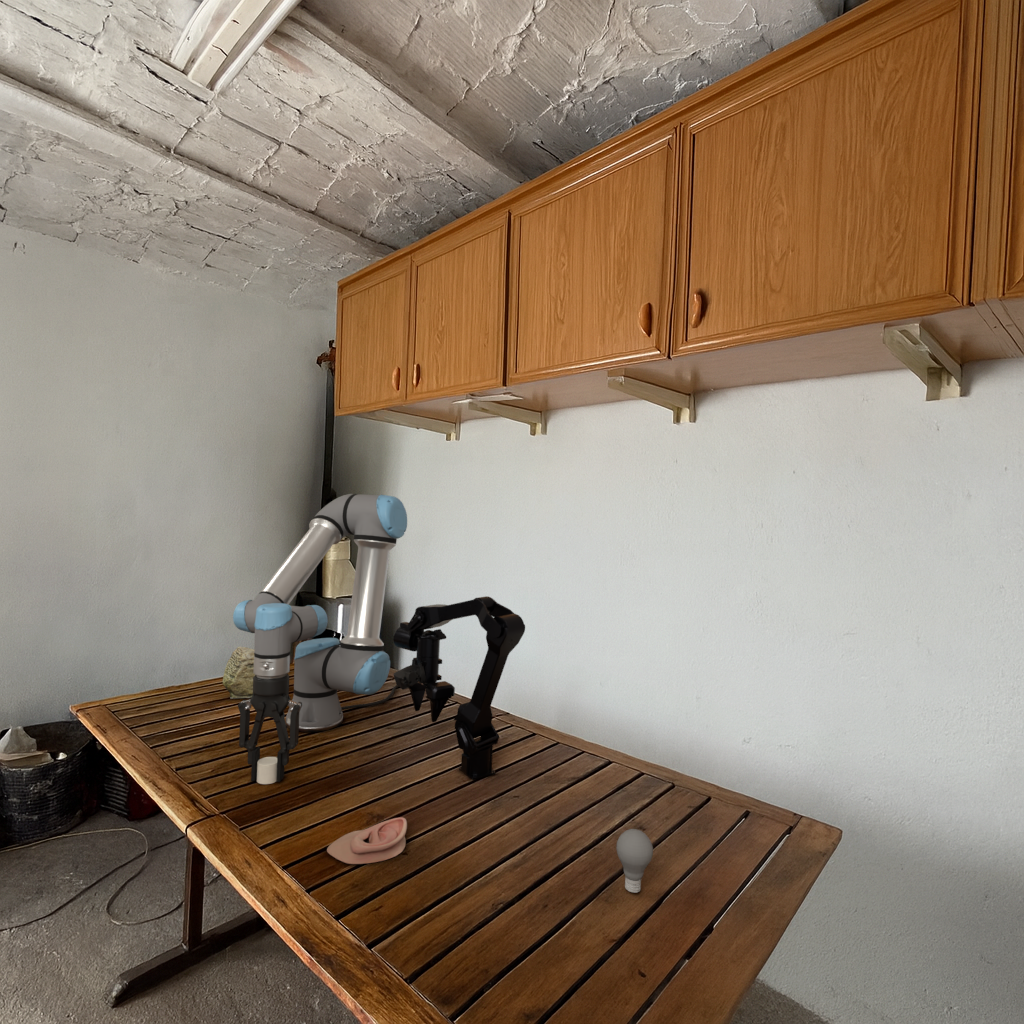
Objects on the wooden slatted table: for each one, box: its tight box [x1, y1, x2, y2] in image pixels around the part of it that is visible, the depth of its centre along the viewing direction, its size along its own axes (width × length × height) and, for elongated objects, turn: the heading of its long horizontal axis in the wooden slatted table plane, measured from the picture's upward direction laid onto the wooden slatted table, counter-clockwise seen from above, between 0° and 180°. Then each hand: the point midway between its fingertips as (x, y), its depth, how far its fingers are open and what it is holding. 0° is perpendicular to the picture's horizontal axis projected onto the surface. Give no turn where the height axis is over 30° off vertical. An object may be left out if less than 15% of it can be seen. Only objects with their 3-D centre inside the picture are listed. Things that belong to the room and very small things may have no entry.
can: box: [256, 756, 277, 785], centre depth 141 cm, size 5×5×4 cm
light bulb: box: [615, 828, 654, 894], centre depth 106 cm, size 6×6×10 cm
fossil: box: [222, 646, 255, 699], centre depth 198 cm, size 9×18×15 cm, turn 132°
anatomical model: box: [326, 816, 408, 865], centre depth 115 cm, size 13×4×12 cm
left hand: (267, 778), depth 141 cm, fingers open, 5 cm apart
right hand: (425, 716), depth 160 cm, fingers open, 9 cm apart
